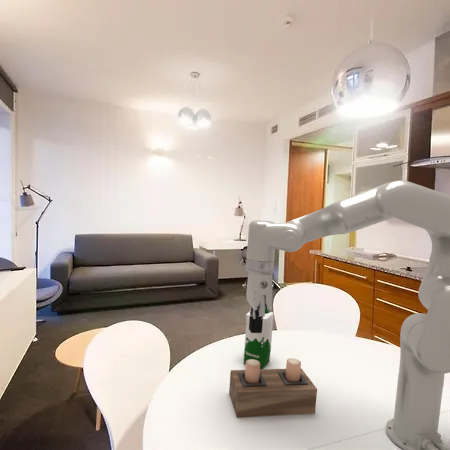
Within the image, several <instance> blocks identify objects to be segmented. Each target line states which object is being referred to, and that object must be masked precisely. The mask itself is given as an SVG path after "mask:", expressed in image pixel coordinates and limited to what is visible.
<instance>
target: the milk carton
mask: <svg viewBox="0 0 450 450" xmlns="http://www.w3.org/2000/svg"><path fill="white" fill-rule="evenodd" d="M274 313H275V312H272V311H271V310H270V311H269V310H268V309H267V308H266V307H265V316H264V317H263V325H262V333H251V332H250V330H249V319H250V310H249V311H248V312H247V313H246V314H245V336H244V337H245V338H244V354H243V364H244V365H246V361H247V360H249V359H254V360H257V361H259V362H260V369H264V368H265V367H266V365H267V364H268V363H269V362H270V358H271V351H272V350H271V349H272V341H273V340H272V337H273V326H274V325H273V323H274Z"/></svg>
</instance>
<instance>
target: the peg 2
mask: <svg viewBox="0 0 450 450" xmlns="http://www.w3.org/2000/svg"><path fill="white" fill-rule="evenodd" d="M285 369H286V375H285V379H286V380H287V382H299V381H300V369H302V362H301V360H299V359H296V358H290V357H289V358H287V359H286V364H285Z"/></svg>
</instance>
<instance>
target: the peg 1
mask: <svg viewBox="0 0 450 450" xmlns="http://www.w3.org/2000/svg"><path fill="white" fill-rule="evenodd" d="M244 368H245V369H244V370H245V383H259V373H260V362H259V361H257V360H254V359H249V360H247V361H246V364H245V366H244Z"/></svg>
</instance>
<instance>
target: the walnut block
mask: <svg viewBox="0 0 450 450" xmlns="http://www.w3.org/2000/svg"><path fill="white" fill-rule="evenodd" d="M229 375H230V377H229V389H228V390H229V391H228V394H229V397H230V399H231V404H232V407H233V411H234V414H235V416H236V418H253V417H254V418H255V417H273V416H291V415H293V416H294V415H312V414H316V407H317V394H318V388H317V387H316V386H315V384H314V383H313V382H312V380H311V378H309V376H308V375H307V374H306V372H305V371H304V369H303V368H301V369H300V381H299V382H287V380H286V379H285V375H286V368H266V369H264V368H263V369H260V373H259V383H245V369H230V374H229Z"/></svg>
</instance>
